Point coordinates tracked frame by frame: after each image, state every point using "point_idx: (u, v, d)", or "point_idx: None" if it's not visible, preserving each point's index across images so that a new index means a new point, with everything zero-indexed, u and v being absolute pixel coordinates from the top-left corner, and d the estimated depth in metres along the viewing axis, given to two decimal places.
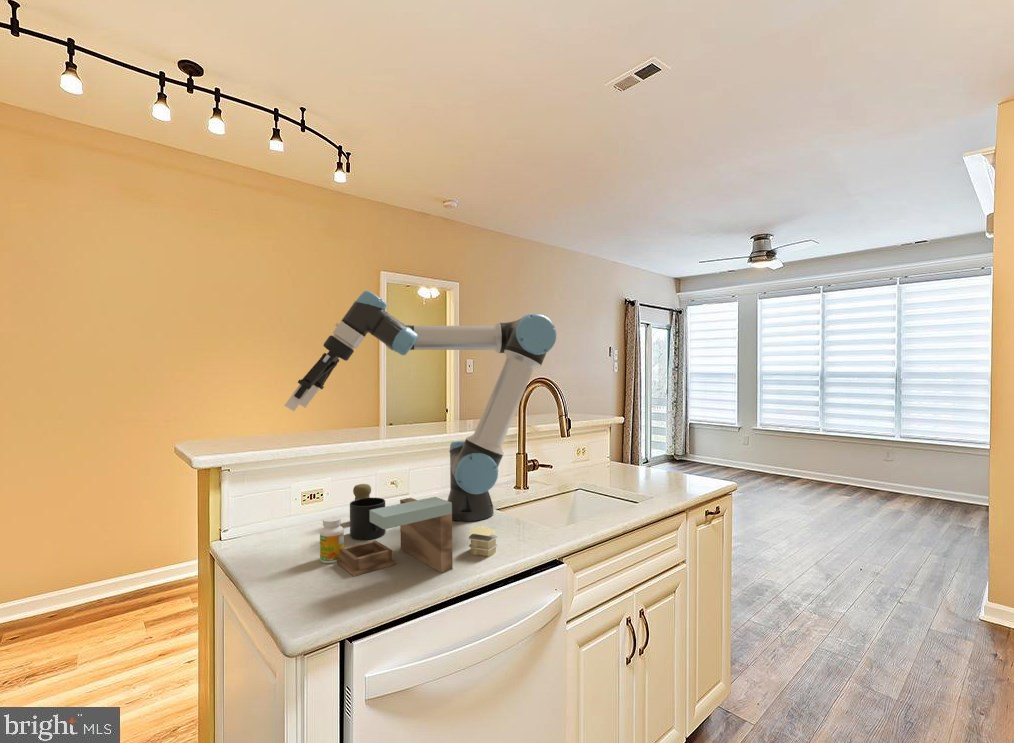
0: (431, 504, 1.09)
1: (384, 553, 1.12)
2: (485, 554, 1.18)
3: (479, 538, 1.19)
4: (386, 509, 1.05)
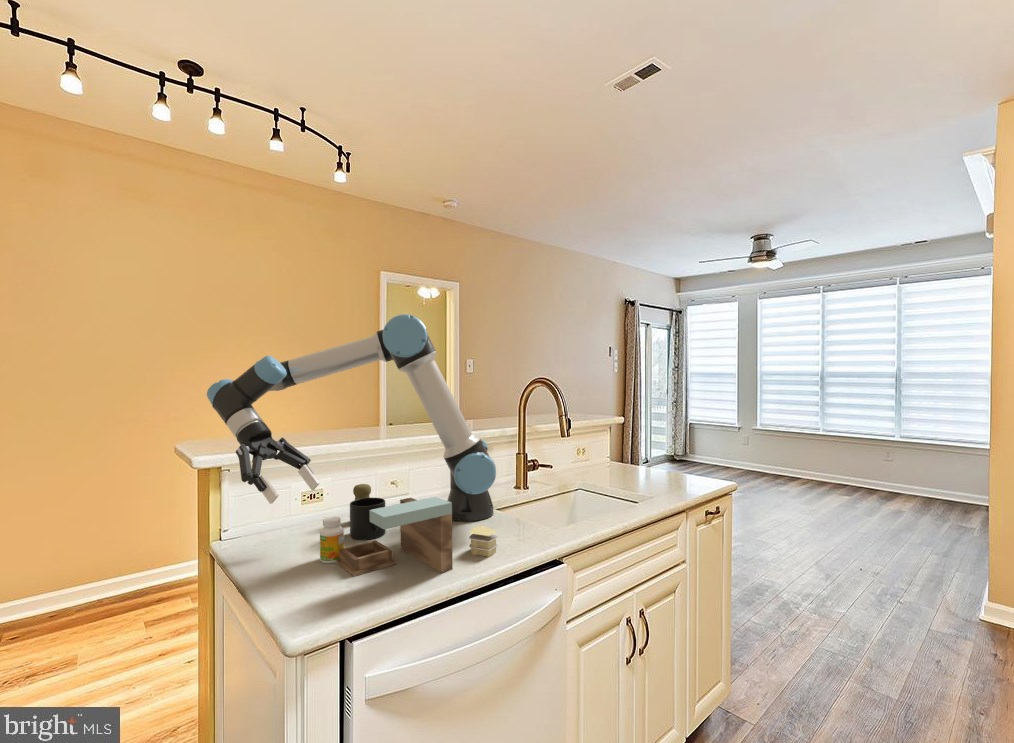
0: (431, 504, 1.09)
1: (384, 553, 1.12)
2: (485, 554, 1.18)
3: (479, 538, 1.19)
4: (386, 509, 1.05)
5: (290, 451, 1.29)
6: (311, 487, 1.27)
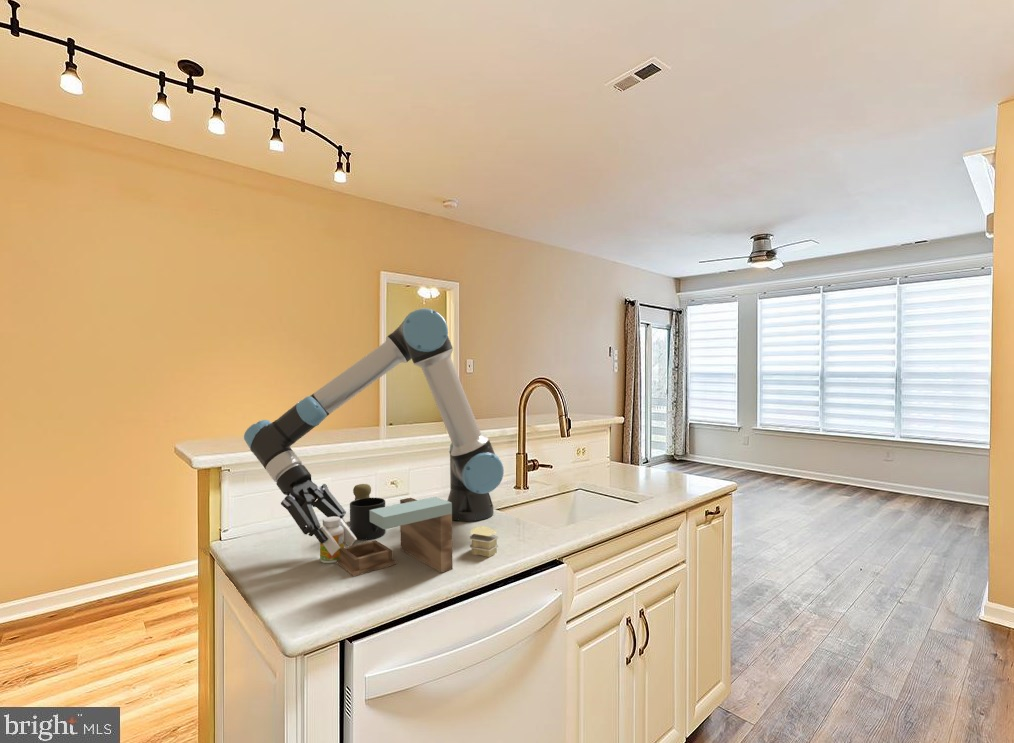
0: (431, 504, 1.09)
1: (384, 553, 1.12)
2: (486, 554, 1.17)
3: (480, 538, 1.19)
4: (386, 509, 1.05)
5: (328, 499, 1.23)
6: (348, 543, 1.18)
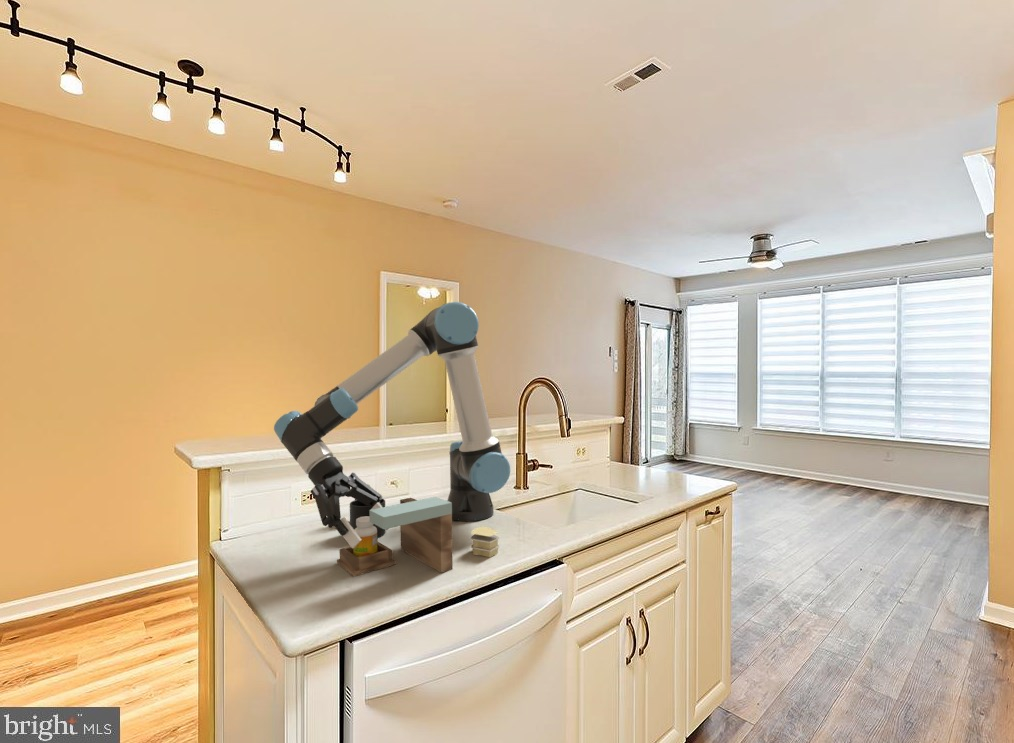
0: (431, 504, 1.09)
1: (384, 553, 1.12)
2: (486, 555, 1.17)
3: (481, 538, 1.18)
4: (386, 509, 1.05)
5: (361, 487, 1.22)
6: None
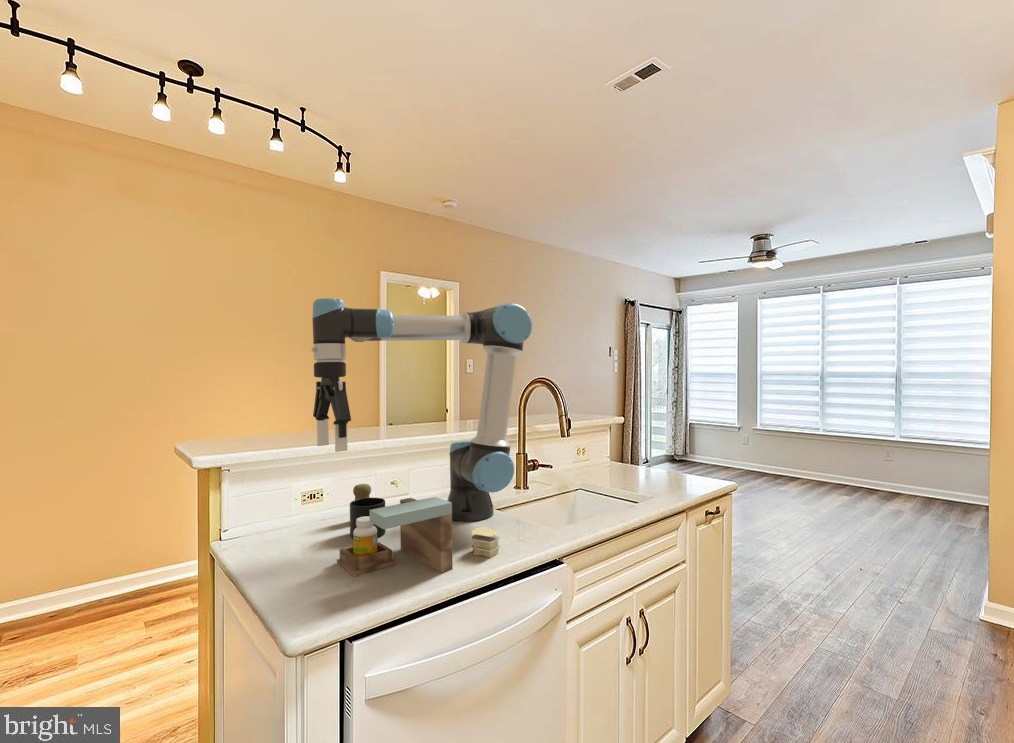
0: (431, 504, 1.09)
1: (384, 553, 1.12)
2: (487, 555, 1.17)
3: (481, 539, 1.18)
4: (386, 509, 1.05)
5: None
6: (320, 443, 1.25)
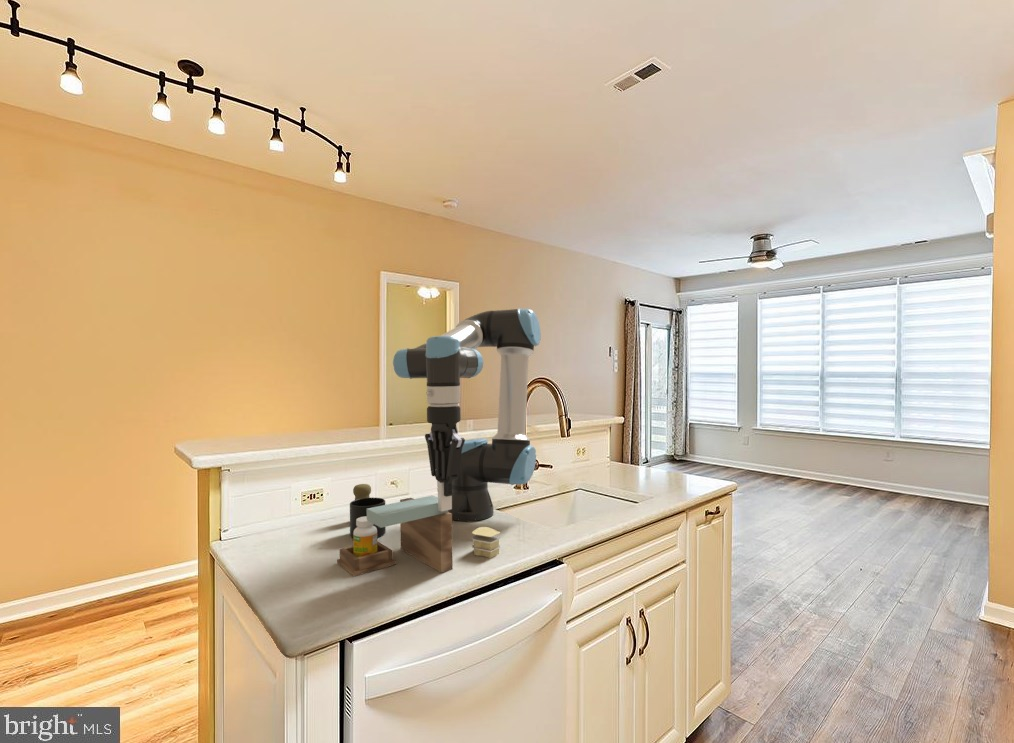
0: (427, 503, 1.10)
1: (384, 553, 1.12)
2: (487, 555, 1.17)
3: (482, 539, 1.18)
4: (383, 508, 1.06)
5: None
6: None
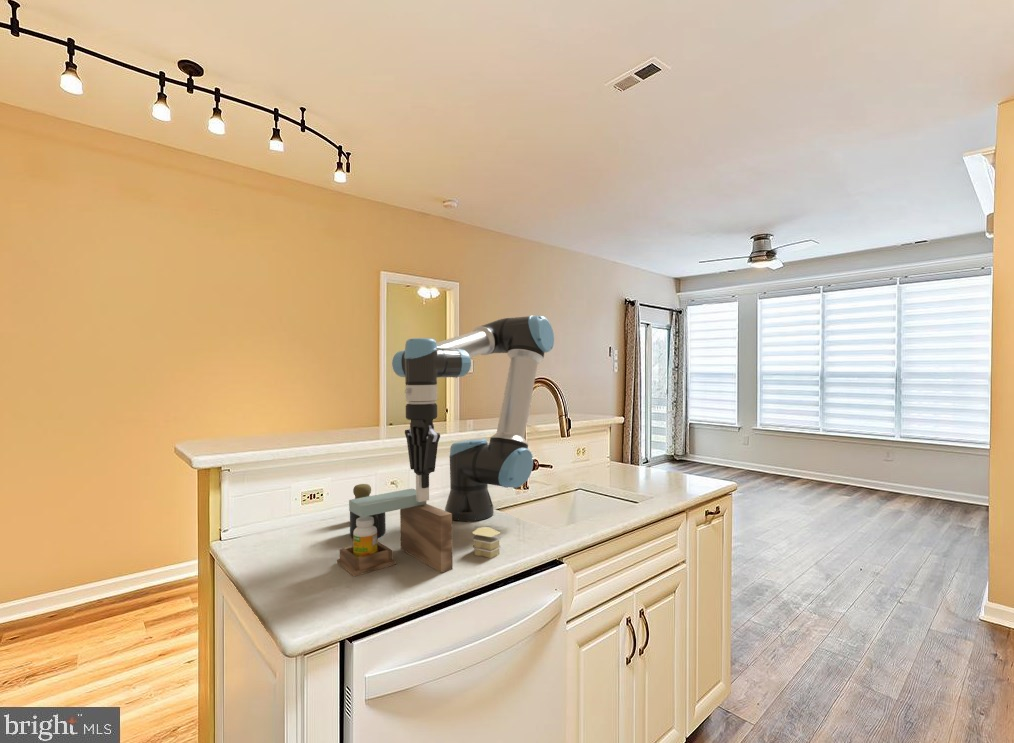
0: (406, 495, 1.17)
1: (384, 553, 1.12)
2: (488, 555, 1.17)
3: (482, 539, 1.18)
4: (364, 499, 1.14)
5: None
6: None
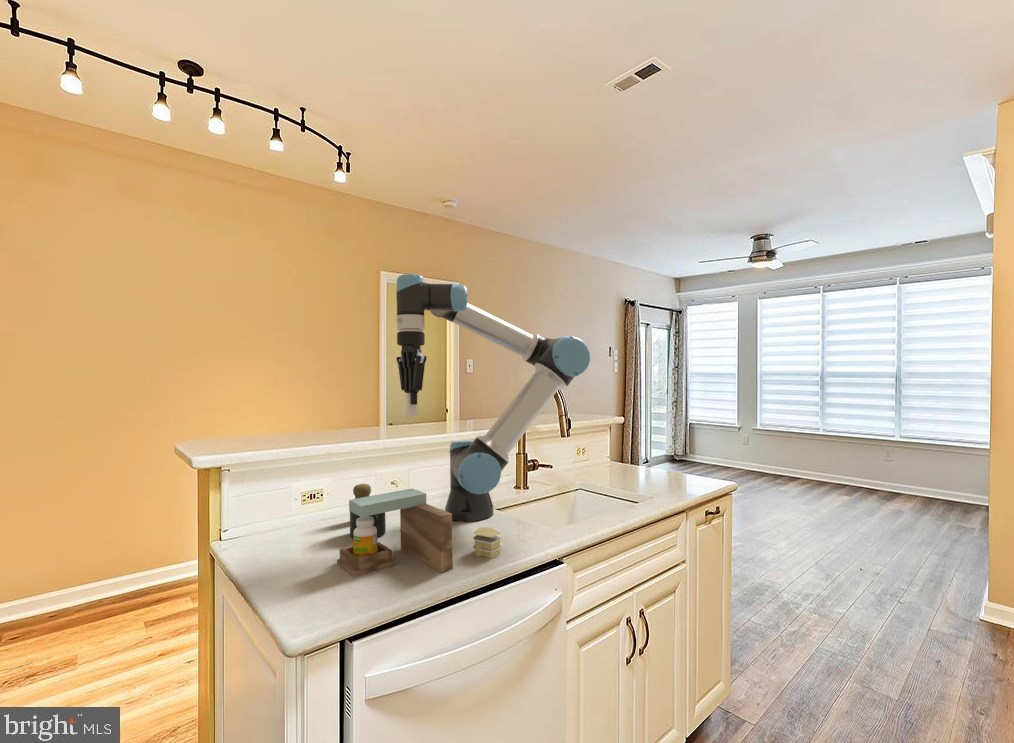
0: (406, 495, 1.17)
1: (384, 553, 1.12)
2: (488, 556, 1.17)
3: (483, 539, 1.18)
4: (364, 499, 1.14)
5: None
6: None
